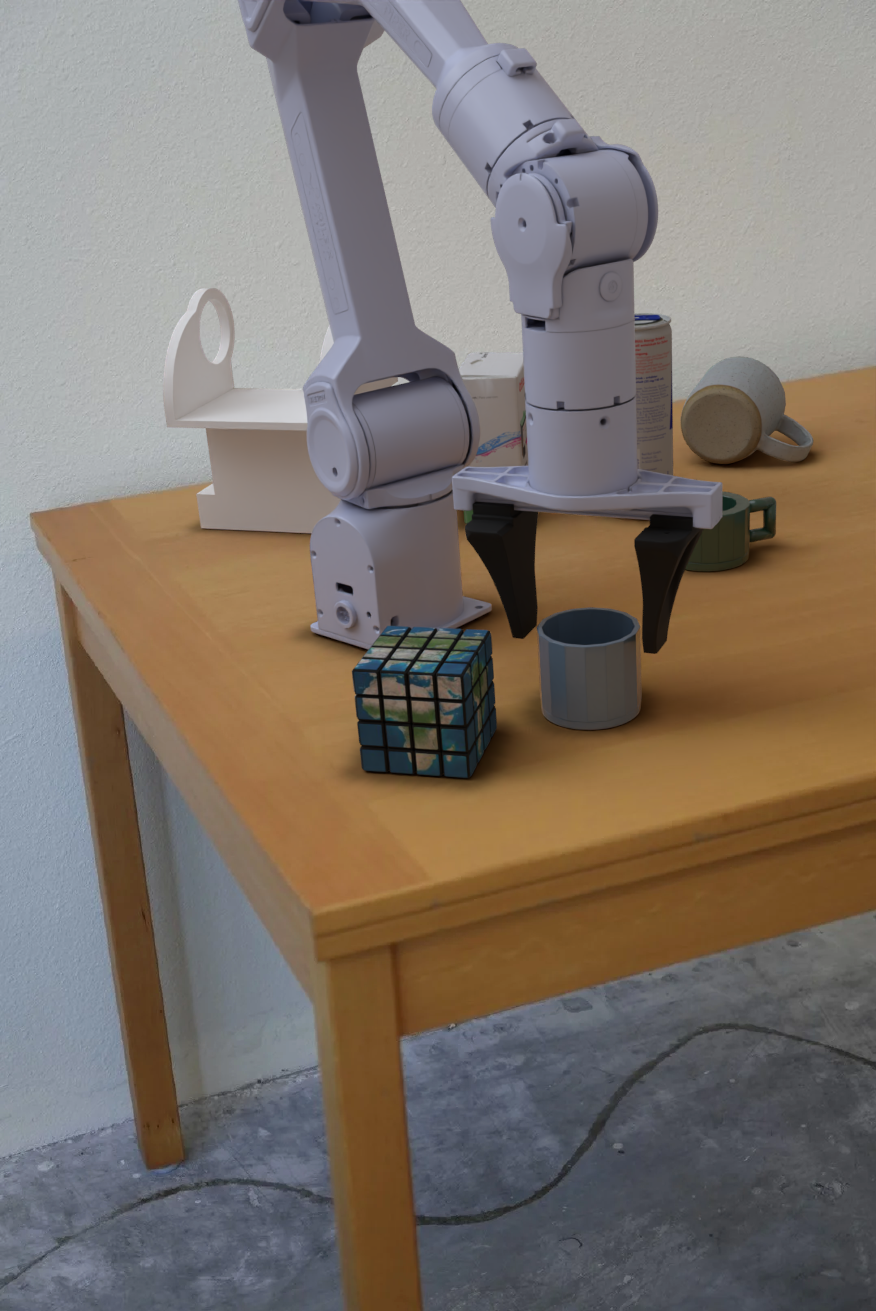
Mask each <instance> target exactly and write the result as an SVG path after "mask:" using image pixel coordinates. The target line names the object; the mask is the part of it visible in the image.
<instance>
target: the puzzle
mask: <svg viewBox="0 0 876 1311" xmlns="http://www.w3.org/2000/svg"><path fill="white" fill-rule="evenodd" d="M492 655H493V639H492V633H491V630H488V629H474V628H473V629H470V628H469V629H468V628H467V629H462V628H455V629H452V628H439V629H438V631H437V628H428V627H413V628H412V629H411V627H404V626H387V627H386V628H385V629H384V631H383V632H382V633H381V634H380V636H379V637H378V638H377V639H376V641H375V642H374V643H373V645H372V646H371V647H370V648H369V650H368V649H367V651H366V652H365V653H364V654H363V656H362V657H361V659H360V660H359V661H358V662H357V664H356V665H354V667H353V669H352V670H351V677H352V685H353V686H352V687H353V693H354V694H355V695H354V706H355V712H356V713H355V715H356V719H357V722H356V726H357V735H358V743H359V745H360V747H359V754H360V755H359V756H360V764H361V770H362V771H365V772H377V773H388V772H389V773H392V774H403V775H415V774H416V775H418V776H419V775H420V776H431V777H432V776H433V777H442V776H443V777H447V778H458V779H470V778H471V777H472V775H473V774H474V772H475V771H476V768H477V766H478V763H479V764H480V761H481V759H482V757H483V755H484V752H485V750H487V748H488V746H489V744H490V742H491V738H493V736H494V734H495V732H496V731H497V729H498V722H497V721H498V720H497V708H496V706H495V705H496V689H495V682H494V681H493V680H494V678H495V673H494V658H493V656H492Z"/></svg>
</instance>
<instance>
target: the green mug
mask: <svg viewBox="0 0 876 1311" xmlns="http://www.w3.org/2000/svg"><path fill="white" fill-rule="evenodd" d="M758 512H762V527H757V528H752V529H751V514H753V513H758ZM776 534H777V500H776V498H775V497H773V496H765V497H761V498H755V499H748V498H747V497H745V496H743V495H741V494H739V493H733V492H729V491H723V490H722V518H721V519H720V521H719V522H718V523H717V524H716V525H715V526H714V527H713V528H712V529H704V530H703V532H702V534H701V536H700V538H699V540H698V542H697V544H696V546H695V548H694V550H693V552H692V554H691V557H690V559H689V561H688V563H687V566H686V568H685V570H686V571H693V572H720V571H725V570H731V569H735V568H737V567H740V566H742V565H744V564H745V563H746V562H747V561H748V560H749V558H750V545H751V544H750V543H756V542H760V541H766V540H771V539H773V538H775V537H776Z"/></svg>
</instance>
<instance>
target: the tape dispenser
mask: <svg viewBox="0 0 876 1311" xmlns="http://www.w3.org/2000/svg"><path fill="white" fill-rule="evenodd" d="M208 302H210V303H211V305H212V306H213V307H214V309H215V311H216V315H217V318H218V323H219V329H220V330H219V331H220V333H219V334H220V336H219V337H220V338H219V346H218V349H217V350H218V351H217V353H216V355H215V357H214V359H213V360H212V361H211V360H210V359H208V356H206V354H205V352H204V348H203V344H202V341H201V328H200V327H201V318H202V313H203V311H204V308H205V306H206V304H208ZM235 331H236V330H235V321H234V316H233V310H232V308H231V305H230V302H229V300H228V298H227V297H226V295H225V293H223V292H222V291H221V290H220V289H218V288H215V287H202V288H199V289H197V290H195V292H194V293H193V294H192V295H191V298H190V299H189V301H188V304H187V307H186V311H185V312H184V313H183V315H182V316H181V317H180V318H179V320H178V321H177V322H176V324H175V326H174V329H173V331H172V333H171V336H170V339H169V342H168V345H167V350H166V353H165V358H164V366H163V376H162V399H163V401H162V402H163V410H164V416H165V423H166V428H174V429H178V428H179V429H182V428H183V429H205V434H206V442H207V447H208V457H209V462H210V471H211V477H212V483H211V484H209V485H207V486H206V487H204V488H203V489H202V490H200V491H198V492H197V493H196V495H195V497H196V503H197V511H198V517H199V525H200V529H208V530H209V529H211V530H230V531H231V530H232V531H233V530H234V531H253V532H254V531H256V532H274V533H275V532H277V533H296V534H297V533H298V534H300V533H301V534H312V531H313V528H314V526H315V525H316V523H317V522H318V521H319V520H321V519H322V518H323V517H325V516H327V515H328V514H330V513H331V512H332V511H333V510H334V509H335V508H336V507H337V506H338V504H339V502H340V500H341V499H339V498H337V497H336V496H334V495H332V493H331V492H330V491H329V490H328V489H327V488H326V487H325V486H324V485H323V484H322V483H321V481H320V480H319V478H318V477H317V475H316V473H315V471H314V469H313V466H312V463H311V460H310V457H309V452H308V447H307V412H306V405H305V399H304V392H303V388H276V387H275V388H271V387H269V388H266V387H265V388H264V387H263V388H260V387H235V381H234V373H233V366H232V357H233V354H234V349H235V348H234V347H235V338H236V333H235ZM333 344H334V342H333V338H332V333H331V329H330V325H329V324H328V326H327V329H326V331H325V334H324V337H323V341H322V345H321V349H320V355H319V361H318V364H319V363H320V362H321V361H322V359H323V358H324V357H325V355H326V354H327V353H328V351H329V350H330V348H331V347H332V346H333ZM398 382H399V377H392V378H388V379H383V380H379V381H374V382H370V383H365V384H363V385H361V386H360V387H359V388H358V389H357V390H356V392H355V393H354V395H355V394H360V393H364V392H368V391H373V390H377V389H381V388H386V387H390V386H394V385H396V383H398Z"/></svg>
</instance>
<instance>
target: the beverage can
mask: <svg viewBox="0 0 876 1311" xmlns="http://www.w3.org/2000/svg"><path fill="white" fill-rule="evenodd" d="M634 316H635V366H636V421H637V469H641V470H646V471H652V472H657V473H662V474H667V475H673V476H674V421H673V420H674V419H673V418H674V417H673V416H674V415H673V412H674V410H673V408H674V407H673V330H672V327H671V322H672V318H671V317H670V316H669V315H666V314H663V313H654V312H653V313H652V312H649V313H648V312H641V313H634Z"/></svg>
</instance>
